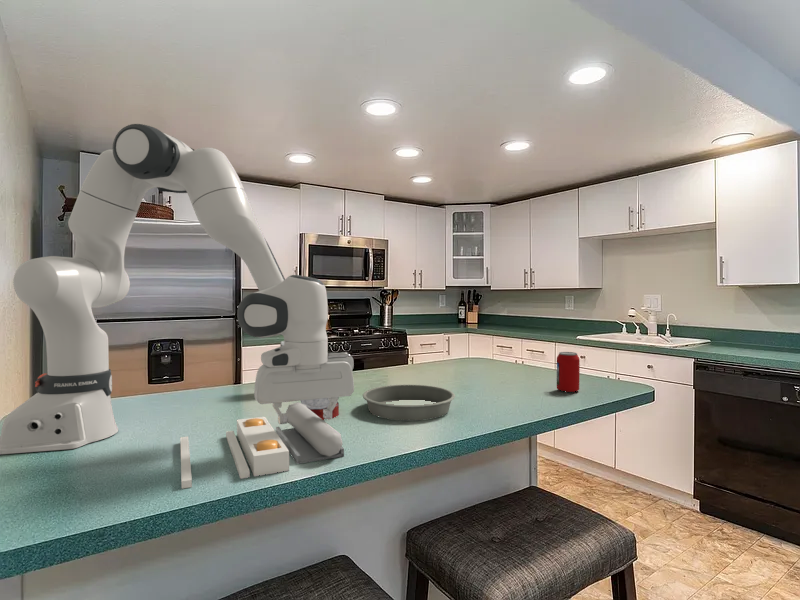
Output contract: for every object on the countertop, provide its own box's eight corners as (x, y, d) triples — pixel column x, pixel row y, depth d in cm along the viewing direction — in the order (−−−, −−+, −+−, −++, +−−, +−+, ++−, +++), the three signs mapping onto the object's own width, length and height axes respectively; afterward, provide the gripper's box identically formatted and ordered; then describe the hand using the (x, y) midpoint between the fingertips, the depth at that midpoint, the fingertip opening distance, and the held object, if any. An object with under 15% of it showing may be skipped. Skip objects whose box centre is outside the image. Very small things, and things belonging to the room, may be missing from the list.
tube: (345, 460, 87) (306, 424, 109) (348, 431, 88) (308, 402, 110) (318, 462, 85) (283, 425, 107) (321, 432, 85) (286, 402, 107)
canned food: (340, 432, 120) (353, 401, 117) (305, 436, 113) (318, 403, 110) (321, 404, 128) (333, 374, 125) (288, 406, 121) (299, 375, 118)
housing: (181, 488, 75) (181, 467, 75) (180, 442, 97) (180, 426, 97) (289, 470, 82) (289, 450, 82) (265, 431, 105) (264, 416, 105)
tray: (297, 464, 86) (297, 455, 86) (276, 433, 104) (276, 427, 104) (344, 456, 89) (343, 448, 89) (315, 428, 107) (315, 422, 107)
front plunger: (258, 466, 83) (258, 447, 83) (255, 460, 86) (255, 441, 86) (279, 463, 84) (279, 444, 84) (275, 457, 88) (275, 438, 87)
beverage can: (564, 387, 151) (564, 351, 151) (583, 391, 146) (583, 353, 146) (552, 390, 147) (552, 352, 147) (572, 394, 142) (572, 355, 141)
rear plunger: (246, 440, 97) (246, 424, 97) (244, 435, 100) (244, 419, 100) (264, 438, 99) (264, 421, 99) (261, 433, 102) (261, 417, 102)
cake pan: (347, 418, 116) (347, 400, 116) (380, 397, 140) (380, 382, 140) (444, 427, 109) (444, 408, 109) (462, 402, 133) (462, 387, 133)
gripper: (348, 349, 103) (348, 411, 104) (253, 354, 95) (252, 422, 95) (358, 353, 98) (358, 419, 98) (258, 358, 89) (257, 430, 89)
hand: (305, 420), depth 96 cm, fingers open, 8 cm apart
